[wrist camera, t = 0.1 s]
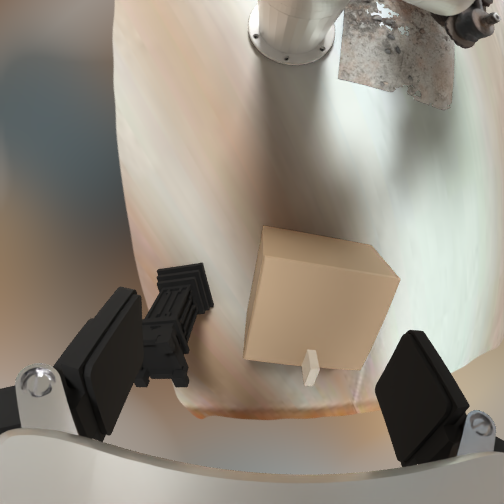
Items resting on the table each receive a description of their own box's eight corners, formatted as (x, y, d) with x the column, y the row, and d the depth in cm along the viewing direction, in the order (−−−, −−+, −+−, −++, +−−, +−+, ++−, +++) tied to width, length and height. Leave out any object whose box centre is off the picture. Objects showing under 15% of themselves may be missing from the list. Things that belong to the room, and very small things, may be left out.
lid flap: (265, 255, 35) (265, 272, 31) (398, 277, 36) (412, 294, 32) (244, 356, 41) (242, 379, 37) (359, 367, 42) (366, 388, 37)
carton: (263, 225, 47) (263, 255, 35) (371, 245, 47) (399, 278, 36) (246, 312, 53) (242, 358, 41) (343, 325, 53) (359, 369, 42)
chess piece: (202, 262, 49) (170, 339, 31) (213, 304, 52) (191, 389, 34) (158, 269, 50) (109, 341, 31) (171, 308, 53) (135, 388, 34)
